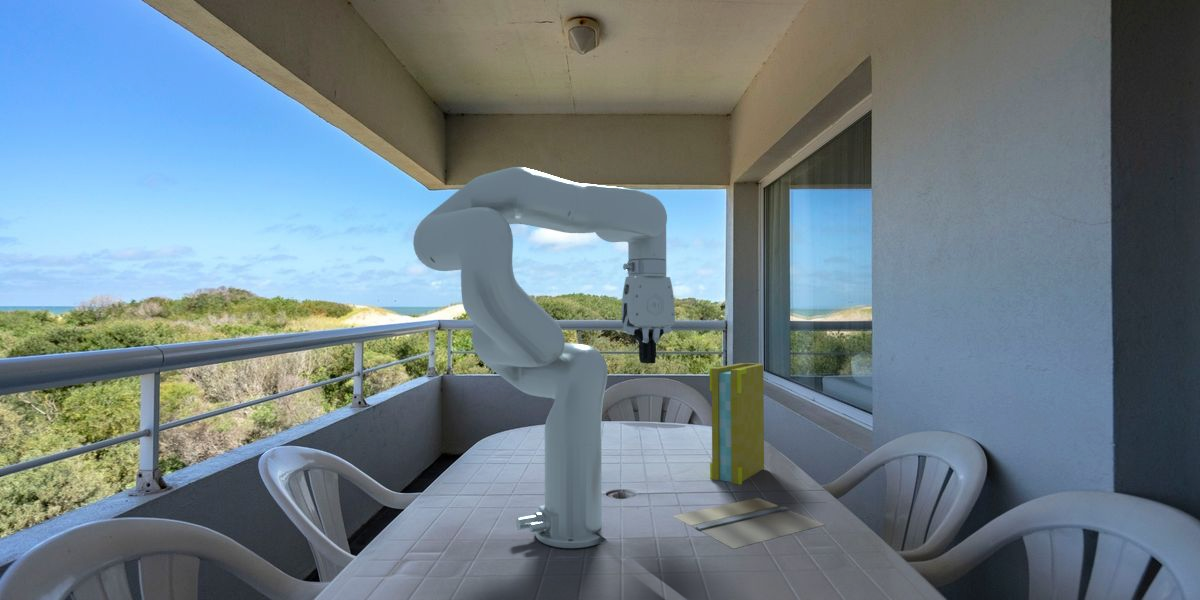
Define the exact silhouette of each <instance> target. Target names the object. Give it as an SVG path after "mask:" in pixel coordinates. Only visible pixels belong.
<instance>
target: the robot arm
mask: <svg viewBox="0 0 1200 600" xmlns="http://www.w3.org/2000/svg"><path fill="white" fill-rule="evenodd" d="M667 222H668V215H667V210H666V208H665V206H664V204H663V202H661V200H659V199H658V198H657V197H656V196H654V195H652V194H649V193H646V192H643V191H641V190H637V189H633V188H626V187H620V186H619V187H617V186H607V185H598V184H591V183H579V182H574V181H571V180H568V179H564V178H560V177H558V176H554V175H551V174H548V173H545V172H541V171H540V170H539V171H538V170H535V169H530V168H527V167H521V166H513V167H507V168H503V169H501V170H496V171H493V172H488V173H485V174H482V175H479V176H476V177H475V178H473V179H472V180H470V181H468V182H467V183H466V184H465V185H463V186H462V187H461V188H459V189H458V190H457V191H456V192H455V193H454V194H452V195H450V197H448V198H447V199H446V200H445V201H443V203H441V204H440V205H439V206H437V207H436V208H435V209H434V210H432V211H431V212H429V214H427V215H426V216H425V217H424V218H422V220H421V221H420V222H419V224H418V225H417V227H416V229H415V230H414V235H413V242H412V243H413V250H414V252H415V255H416V257H417V258H418V260H419V261H420V263H422V264H423V265H425V266H426V267H427V268H429V269H431V270H434V271H439V272H450V271H451V272H453V271H460V286H461V287H460V289H461V300H462V306H463V308H464V311H465V313H466V315H467V316H468V318H469V319H470V320H471V321H472V322H473V327H472V329H471V343H472V347H473V349H474V350H473V351H475V354H476V355H477V357H478V359H479V360H480V361H481V362H482V363H484V365H485V366H487V367H488V368H489V369H491V370H492V371H493V372H494V373H496V374H497V375H498V376H500V377H501V378H502V379H504V380H505V381H506V382H508V383H509V384H510V385H512V386H514V387H515V388H516V389H517V390H519V391H520V392H522V393H524V394H527V395H530V396H535V397H539V398H547V399H548V398H549V399H553V400H554V401H553V403H552V407H551V408H550V411H549V413H548V415H547V418H546V420H545V425H544V504H543V505H539V506H538V511H536V512H534V513H533V514H532V515H524V516H518V517H516V519H515V526H516V528H517V530H525V529H529V531H530V533H535V534H534V535H535V537H536V539H537V540H538V541H539V542H541V543H543V544H545V545H547V546H550V547H553V548H561V549H583V548H588V547H593V546H596V545H599V544H601V543H603V542H605V541H607V539H606V538H605V537H604V536H602V534H599V533H598V531H599V530H600V529H601V528H602V525H603V524H602V519H603V518H602V511H603V509H602V506H603V505H602V503H603V502H602V501H603V500H602V495H603V494H602V493H603V492H602V489H603V488H602V487H603V486H602V484H603V482H602V480H603V479H602V465H603V464H602V458H603V457H602V422H603V421H602V417H603V405H604V398H605V397H604V396H605V391H606V387H607V382H608V370H609V369H608V364H607V361H606V359H605V357H604V355H602V353H601V352H600V351H599V350H597V348H595V347H592V346H591V345H587V344H582V343H572V342H571V343H568V342H566V340H565V339H566V338H565V335H564V332H563V330H562V328H561V326H560V324H559V323H558V322H557V321H556V319H555V318H554V317H553V316H552V315H551V314H549V313H548V312H547V311H546V310H545V309H544V308H543V307H542V306H541V305H540V304H538V302H536V300H534V299H533V297H531V296H530V295H529V294H528V293H527V292H526V291H525V290H524V289H523V288H522V287H521V286H520V285H519V283H518V282H517V280H516V278H515V274H514V268H513V267H514V266H513V252H514V251H513V250H514V249H513V248H514V239H513V238H514V237H513V231H512V228H511V226H510V225H525V226H531V227H537V228H541V229H545V230H552V231H555V232H561V233H565V234H566V233H567V234H592V233H595V234H596V235H597V237H599V238H600V239H601V240H602V241H605V242H608V243H623V242H624V243H628V244H627V245H628V246H627V248H628V250H627V251H628V256H627V257H628V259H627V263H626V262H625V263H623V264H622V265H623V267H622V268H623V270H624V271H627V276H626V277H625V279H624V285H623V290H622V297H621V300H622V301H621V323H622V324H623V326H622V333H625V334H627V335H632V336H633V337H634V338H635V341H636V342H637V343H638V357H639V362H640V363H641V364H647V365H648V364H655V363H656V358H657V343H659V341H660V339H661V337H662V336H663V335H665V334H668V333H671V332H672V326H674V325H675V322H676V311H675V310H676V308H675V298H674V297H675V296H674V289H673V285H672V281H671V280H672V279H671V277H670V276H667Z"/></svg>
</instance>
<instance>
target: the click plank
mask: <svg viewBox="0 0 1200 600" xmlns="http://www.w3.org/2000/svg"><path fill="white" fill-rule="evenodd" d="M775 507H779V505H778V504H775V503H772V502H771V501H767V500H765V499H762V498H760V497H756V498H751V499H746V500H742V501H737V502H731V503H727V504H723V505H717V506H713V507H707V508H703V509H698V510H694V511H688V512H685V513H680V514H675V515H672V517H674V518H675V519H677V520H679V521H681V522H682V523H685V524H686V525H688V526H689V527H692V526H696V525H700V524H705V523H709V522H713V521H718V520H722V519H727V518H731V517H735V516H740V515H744V514H749V513H753V512H757V511H762V510H766V509H771V508H775Z"/></svg>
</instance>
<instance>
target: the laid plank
mask: <svg viewBox="0 0 1200 600" xmlns="http://www.w3.org/2000/svg"><path fill="white" fill-rule="evenodd" d="M824 526H826V524H825V523H824V522H820V521H818V520H815V519H812V518H811V517H807V516H805V515H803V514H800V513H797V512H795V511H792V510H790V509H789V507H787V506H780V505H778V506H776V507H772V508H767V509H763V510H758V511H754V512H750V513H745V514H741V515H736V516H732V517H727V518H723V519H719V520H714V521H710V522H705V523H701V524H696V525H692V526H691V527H692V528H693V529H696V530H697V531H699V532H701V533H702V534H704V535H707V536H709V537H710V538H712V539H714V540H716V541H717V542H719V543H722V544H724V545H725V546H727V547H729V548H730V549H732V550H734V549H739V548H742V547H743V548H744V547H747V546H751V545H754V544H757V543H762V542H765V541H769V540H773V539H777V538H781V537H784V536H789V535H792V534H793V535H794V534H796V533H800V532H804V531H808V530H811V529H815V528H819V527H824Z"/></svg>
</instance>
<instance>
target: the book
mask: <svg viewBox="0 0 1200 600" xmlns="http://www.w3.org/2000/svg"><path fill="white" fill-rule="evenodd" d="M709 391H710V392H711V462H709V463H710V464H709V466H710V467H709V468H710V469H709V473H710V474H709V476H710V477H709V479H710V480H714V481H725V482H730V483H731V484H735V485H742V484H743V482H744V481H745V480H748V479H749V478H751V477H752V476H754V475H756V474H758V473H759V472H761V471H762V470H764V471H765V432H764V431H765V429H764V428H765V425H764V423H765V420H764V418H765V417H764V416H765V415H764V414H765V413H764V410H765V409H764V401H765V400H764V399H765V398H764V364H763V363H755V362H754V363H753V362H750V363H749V362H746V363H745V362H741V363H735V364H730V365H729V364H728V365H723V366H714V367H711V368H710V367H709Z"/></svg>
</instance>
